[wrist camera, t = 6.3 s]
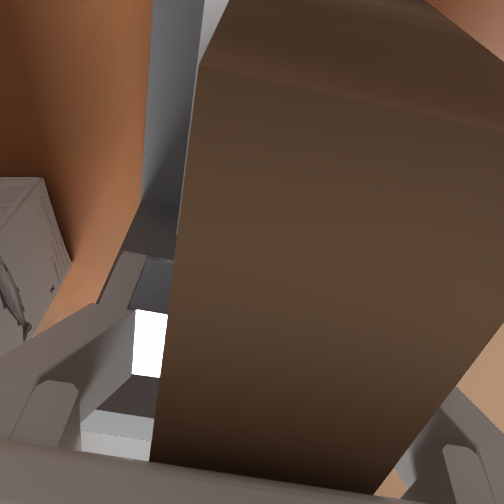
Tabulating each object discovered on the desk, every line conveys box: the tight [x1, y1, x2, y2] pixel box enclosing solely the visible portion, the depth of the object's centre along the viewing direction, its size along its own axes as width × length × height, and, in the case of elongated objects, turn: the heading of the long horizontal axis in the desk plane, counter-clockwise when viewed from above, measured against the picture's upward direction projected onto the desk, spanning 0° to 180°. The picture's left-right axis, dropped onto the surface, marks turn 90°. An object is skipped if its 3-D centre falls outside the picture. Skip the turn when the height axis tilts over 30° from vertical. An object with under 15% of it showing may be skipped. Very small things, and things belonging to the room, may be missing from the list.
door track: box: [80, 0, 229, 441], centre depth 18 cm, size 22×12×16 cm, turn 169°
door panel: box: [149, 0, 504, 495], centre depth 11 cm, size 12×3×10 cm, turn 169°
